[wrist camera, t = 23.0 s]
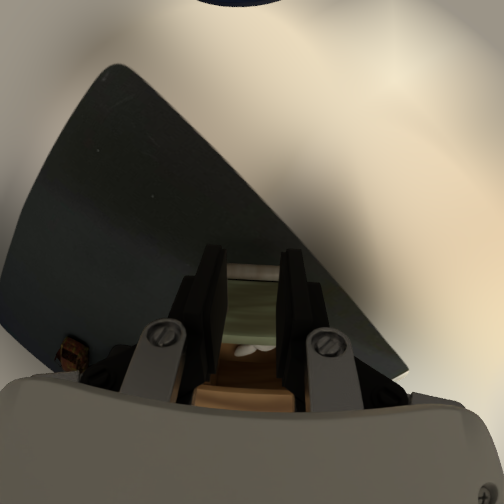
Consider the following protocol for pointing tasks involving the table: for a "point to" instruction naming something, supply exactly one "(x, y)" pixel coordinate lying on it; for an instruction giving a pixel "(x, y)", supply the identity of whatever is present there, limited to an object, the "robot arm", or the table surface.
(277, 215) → the table surface
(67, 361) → the toy car
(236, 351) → the rabbit figurine
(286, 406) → the cabinet
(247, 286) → the drawer
